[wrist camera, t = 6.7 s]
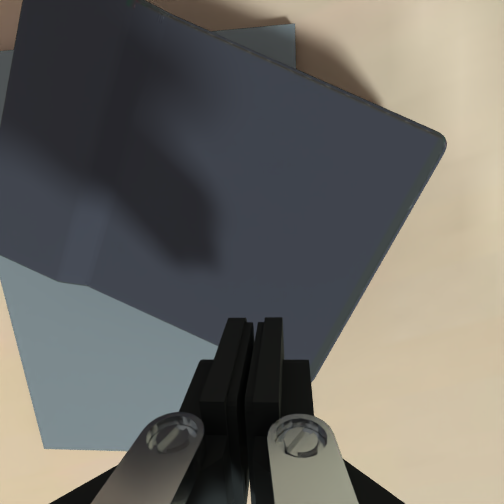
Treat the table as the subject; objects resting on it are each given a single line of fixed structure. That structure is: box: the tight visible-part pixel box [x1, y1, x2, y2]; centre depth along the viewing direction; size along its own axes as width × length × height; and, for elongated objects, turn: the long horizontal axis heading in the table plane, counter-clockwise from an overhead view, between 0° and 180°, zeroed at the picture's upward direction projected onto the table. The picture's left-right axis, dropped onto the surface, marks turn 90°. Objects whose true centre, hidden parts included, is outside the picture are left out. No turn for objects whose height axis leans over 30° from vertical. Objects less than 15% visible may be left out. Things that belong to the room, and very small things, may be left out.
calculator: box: [0, 0, 447, 382], centre depth 16 cm, size 11×4×15 cm
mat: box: [0, 24, 296, 451], centre depth 20 cm, size 16×22×1 cm
